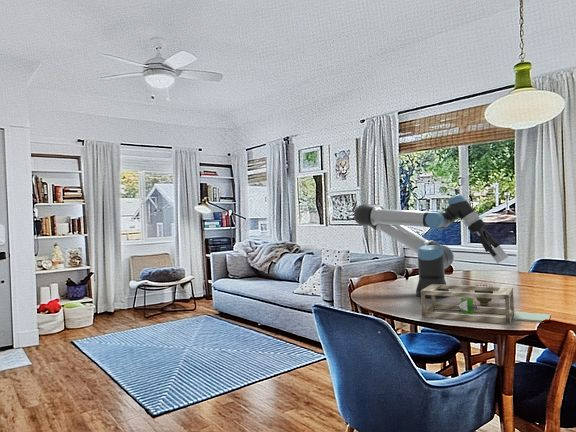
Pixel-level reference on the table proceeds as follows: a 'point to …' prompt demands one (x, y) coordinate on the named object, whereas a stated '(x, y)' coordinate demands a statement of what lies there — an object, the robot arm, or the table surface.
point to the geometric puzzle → (467, 306)
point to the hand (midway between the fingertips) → (503, 260)
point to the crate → (501, 294)
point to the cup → (484, 300)
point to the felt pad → (530, 316)
